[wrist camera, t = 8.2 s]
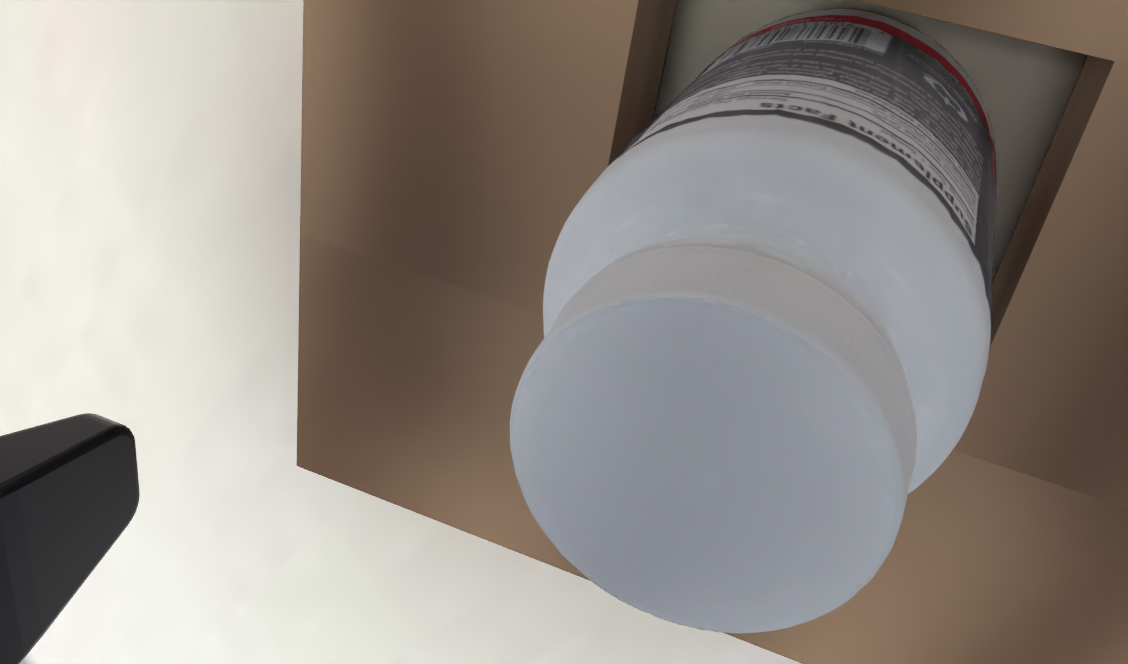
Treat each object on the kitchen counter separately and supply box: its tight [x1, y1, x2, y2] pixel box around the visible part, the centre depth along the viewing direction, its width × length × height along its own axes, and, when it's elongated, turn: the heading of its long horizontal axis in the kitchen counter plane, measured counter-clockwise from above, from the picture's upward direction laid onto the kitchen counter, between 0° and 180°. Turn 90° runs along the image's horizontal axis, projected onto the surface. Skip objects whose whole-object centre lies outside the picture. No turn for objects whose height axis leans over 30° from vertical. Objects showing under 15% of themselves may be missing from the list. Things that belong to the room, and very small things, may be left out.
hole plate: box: [297, 0, 1128, 664], centre depth 17 cm, size 18×18×2 cm
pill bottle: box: [510, 9, 996, 634], centre depth 14 cm, size 5×5×10 cm
